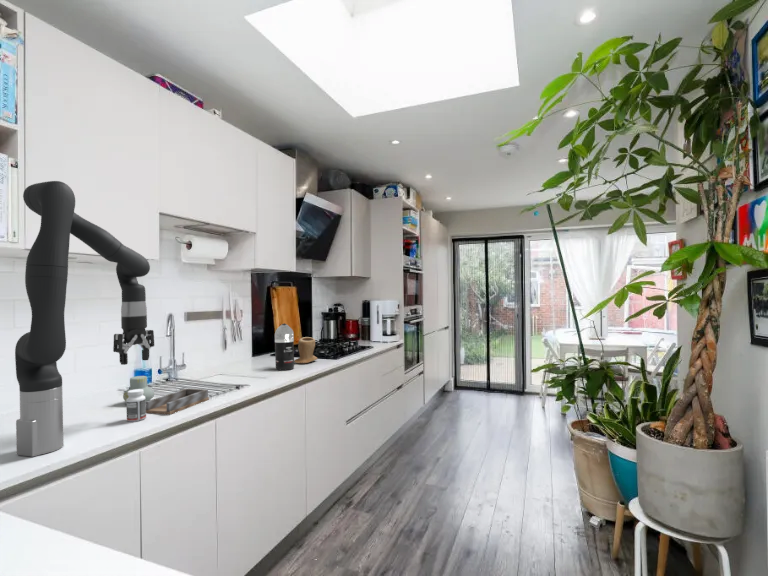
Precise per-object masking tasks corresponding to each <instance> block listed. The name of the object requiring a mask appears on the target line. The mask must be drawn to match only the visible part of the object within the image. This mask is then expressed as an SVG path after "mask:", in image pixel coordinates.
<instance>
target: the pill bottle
mask: <svg viewBox="0 0 768 576" xmlns="http://www.w3.org/2000/svg"><path fill="white" fill-rule="evenodd" d="M143 393H144V390H143V389H135V390H130V391H128V396H129V397H128V398H127V400H126V402H125V405H126V421H127V422H130V423H132V422H133V423H136V422H140V421H143V420H145V419H146V418H147V413H146V398H145V396H143Z"/></svg>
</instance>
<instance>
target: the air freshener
mask: <svg viewBox="0 0 768 576" xmlns="http://www.w3.org/2000/svg"><path fill="white" fill-rule="evenodd" d="M135 389H143V390H144V393H143V396H145V398H146V402H147V401H150V400H153V399H154V397H155V391H154V389H153V388H152V387H150V386H148V376H147V375H137V376H136V375H135V376H132V377H130V378H129V388H128V389H127V390H126V391H124V392H123V395H122V397H123V401H124V402H125V403H126V400H127V398H128V397H129V396H128V391H130V390H135Z"/></svg>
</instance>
